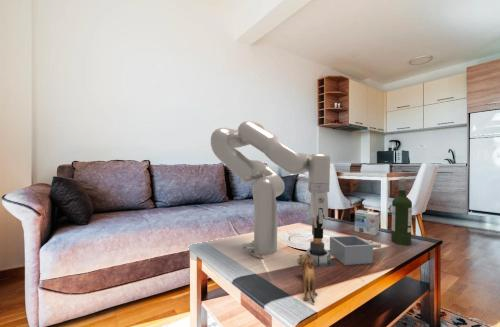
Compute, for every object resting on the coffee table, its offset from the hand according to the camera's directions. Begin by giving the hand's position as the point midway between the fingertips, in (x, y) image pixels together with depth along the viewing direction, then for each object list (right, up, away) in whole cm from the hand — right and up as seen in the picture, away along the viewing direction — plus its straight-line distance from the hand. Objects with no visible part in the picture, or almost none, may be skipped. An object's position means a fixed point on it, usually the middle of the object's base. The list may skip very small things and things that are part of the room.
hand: (317, 236), depth 91 cm
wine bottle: (+46, -10, +24) cm, 53 cm away
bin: (+13, -10, +2) cm, 17 cm away
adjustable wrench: (+22, -11, +17) cm, 30 cm away
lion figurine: (-8, -11, -17) cm, 22 cm away
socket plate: (0, -10, 0) cm, 10 cm away
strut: (0, -6, 0) cm, 6 cm away
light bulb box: (+37, -10, +40) cm, 55 cm away
